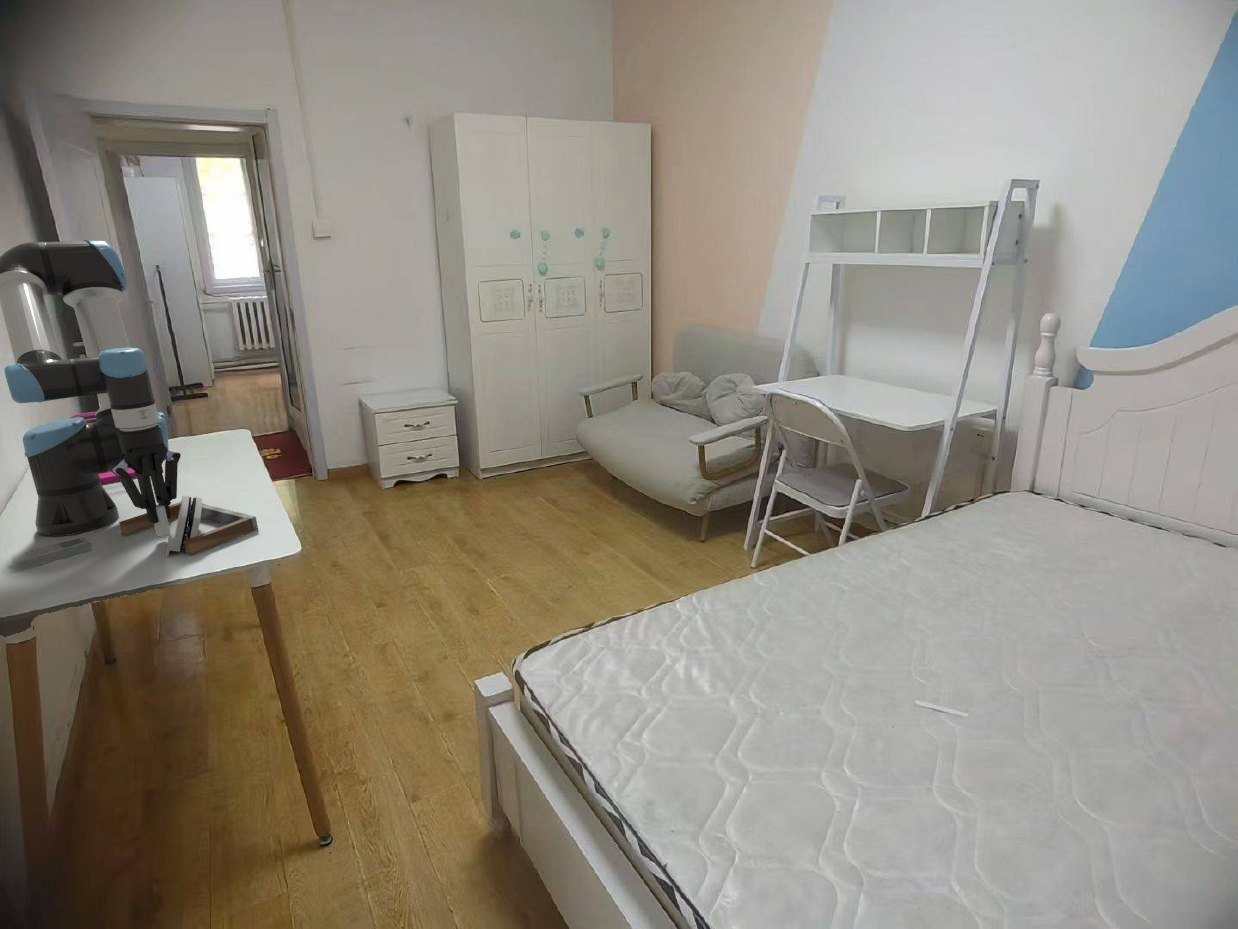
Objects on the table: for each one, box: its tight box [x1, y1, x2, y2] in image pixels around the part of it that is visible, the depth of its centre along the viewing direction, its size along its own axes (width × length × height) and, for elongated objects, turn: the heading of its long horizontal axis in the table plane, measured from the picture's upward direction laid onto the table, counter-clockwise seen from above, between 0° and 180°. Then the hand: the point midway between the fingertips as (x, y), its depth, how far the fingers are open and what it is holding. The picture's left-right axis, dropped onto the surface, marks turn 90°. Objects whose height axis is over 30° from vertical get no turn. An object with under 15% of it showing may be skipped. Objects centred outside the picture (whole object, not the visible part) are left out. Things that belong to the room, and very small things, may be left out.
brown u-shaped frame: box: [118, 500, 259, 557], centre depth 159 cm, size 25×15×3 cm, turn 61°
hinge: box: [164, 495, 203, 558], centre depth 154 cm, size 17×5×10 cm, turn 28°
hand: (163, 535), depth 154 cm, fingers closed
